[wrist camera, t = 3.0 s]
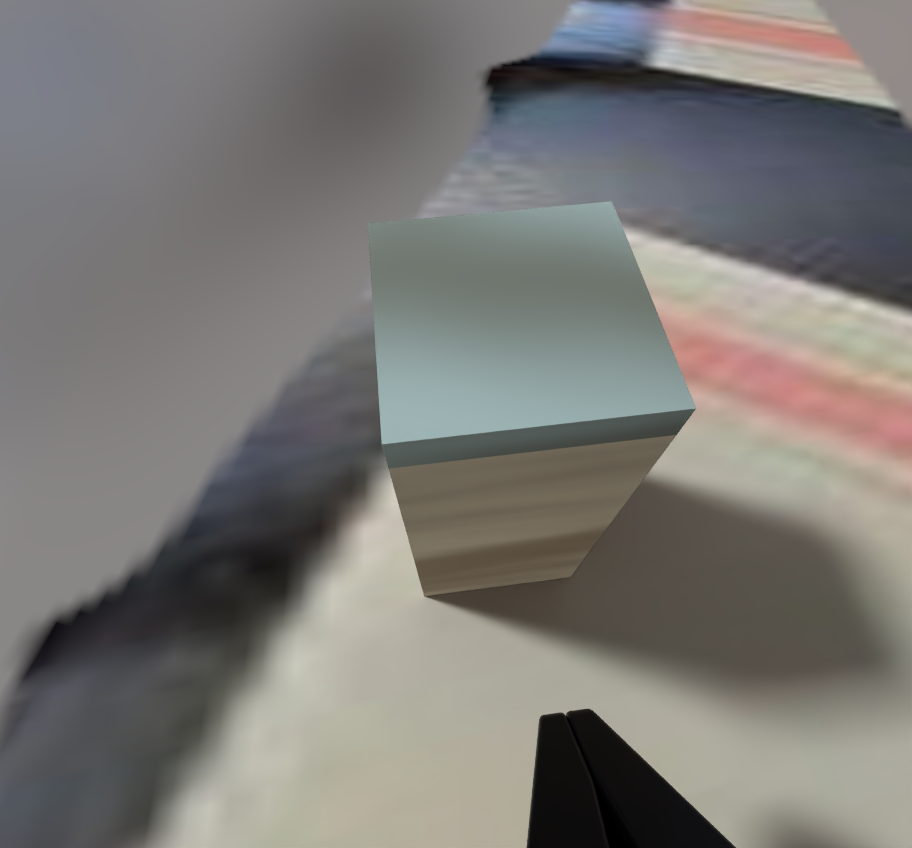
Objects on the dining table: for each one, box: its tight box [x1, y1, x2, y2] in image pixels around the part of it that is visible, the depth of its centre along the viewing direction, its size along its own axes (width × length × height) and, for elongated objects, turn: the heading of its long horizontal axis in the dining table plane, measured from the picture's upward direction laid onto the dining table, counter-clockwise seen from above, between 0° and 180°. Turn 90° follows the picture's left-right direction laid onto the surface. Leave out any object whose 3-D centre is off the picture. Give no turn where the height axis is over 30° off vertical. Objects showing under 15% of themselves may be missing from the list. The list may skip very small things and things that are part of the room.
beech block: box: [368, 202, 696, 596], centre depth 13 cm, size 4×4×10 cm
